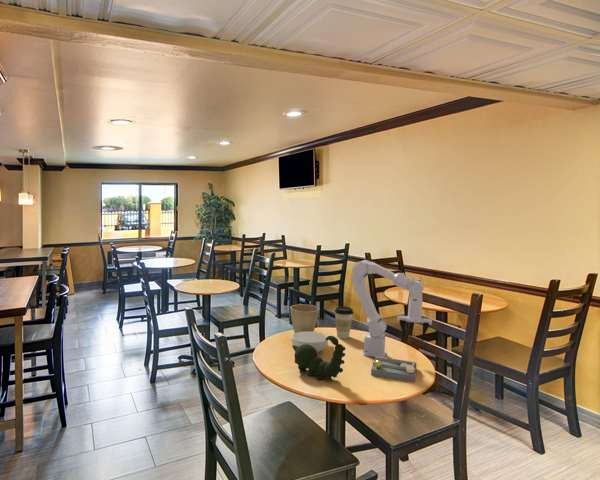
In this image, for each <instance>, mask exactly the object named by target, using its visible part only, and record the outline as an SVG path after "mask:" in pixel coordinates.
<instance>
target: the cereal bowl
mask: <svg viewBox="0 0 600 480" xmlns="http://www.w3.org/2000/svg"><path fill="white" fill-rule="evenodd" d="M328 336H329V335H326V334H325V333H322V332H318V331H314V332H311V331H306V332H298V333H295V332H294V333H293V334H292V335H291V344H292V345H295V346H301V345H303V344H309V345H311V346H313V347H314V348H315V349H316V351H317V353H319V352H321V351H323V350H325V349H326V347H327V346H328V343H329V342H328V341H329V340H325V339H326V337H328Z"/></svg>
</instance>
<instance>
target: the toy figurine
mask: <svg viewBox="0 0 600 480" xmlns="http://www.w3.org/2000/svg"><path fill="white" fill-rule="evenodd" d="M327 336H328V337H326V339H325V340H328V341H330V342H331V344H332V345H334V350H333V352H332V356H331V359H330V361H329V362H327V361H325V360H324V359H323V358H322V357H321V356H319V354H318V353H319V352H317V351H316V349H315V348H314V347H313V346H311V345H309V344H303V345H301V346H295V345H293V344H292V347H291V348H292V349H293V350H294V364H296V365H297V368H298V370H300V372H305V371H306V370H307V369H308V370H307V375H308V376H310V377H312V376H313V375H314V374H316V375H317V376H316V379H317V380H318V381H320V380H322V379H324V378H326V380H327V381H329V382H330V381H331V380H332V378H335V379H336V378H337V377H338V375H339V374H340V373H343V371H344V369H343V367H341V365H344V364H345V360H344V359H343V357H345V356H346V353H345V352H344V351H346V347H345V346H344V345H343V344H341V343H339V340H338V339H339V338H338V337H337V336H336V337H335V336H334V335H327Z"/></svg>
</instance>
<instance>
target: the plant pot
mask: <svg viewBox="0 0 600 480" xmlns="http://www.w3.org/2000/svg"><path fill="white" fill-rule="evenodd" d="M289 308H290V317H291V318H290V319H291V324H292V328H293V331H294V334H295V333H298V332H306V331H311V332H315V328H316V326H317V322H318V318H319V314H320V313H319V312H320V307H318V306H316V305H313V304H301V303H299V304H293V305H291V306H290V307H289Z"/></svg>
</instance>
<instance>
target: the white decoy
mask: <svg viewBox="0 0 600 480" xmlns="http://www.w3.org/2000/svg"><path fill="white" fill-rule="evenodd" d="M406 371H407V372H408V373H413V372H414V367H413V366H412V365H408V366H407V367H406Z"/></svg>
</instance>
